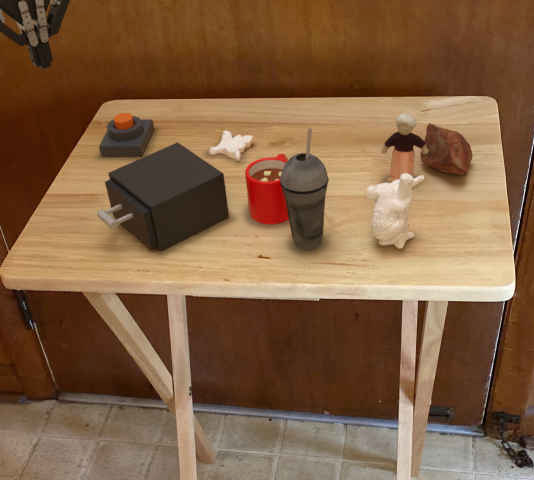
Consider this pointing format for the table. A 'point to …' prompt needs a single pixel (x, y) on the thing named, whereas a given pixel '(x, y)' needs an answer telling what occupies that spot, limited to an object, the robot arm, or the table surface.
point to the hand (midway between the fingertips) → (43, 66)
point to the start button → (123, 121)
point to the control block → (127, 138)
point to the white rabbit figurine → (392, 210)
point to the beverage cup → (305, 197)
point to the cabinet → (176, 192)
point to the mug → (266, 190)
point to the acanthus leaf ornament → (232, 145)
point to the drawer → (128, 214)
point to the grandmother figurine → (403, 147)
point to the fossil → (446, 150)
